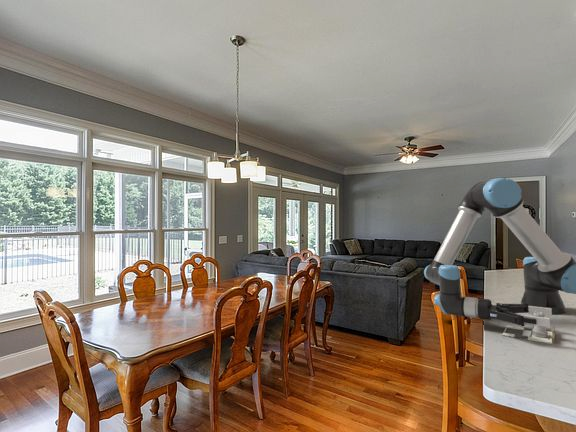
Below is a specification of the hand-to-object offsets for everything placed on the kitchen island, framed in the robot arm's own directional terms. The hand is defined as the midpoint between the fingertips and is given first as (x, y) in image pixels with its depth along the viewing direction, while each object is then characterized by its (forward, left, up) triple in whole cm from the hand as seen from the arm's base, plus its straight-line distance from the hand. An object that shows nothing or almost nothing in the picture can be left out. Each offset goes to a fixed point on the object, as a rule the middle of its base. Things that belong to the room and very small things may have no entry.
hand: (551, 317), depth 107 cm
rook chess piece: (+1, -3, -7) cm, 8 cm away
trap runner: (+2, -6, -7) cm, 9 cm away
